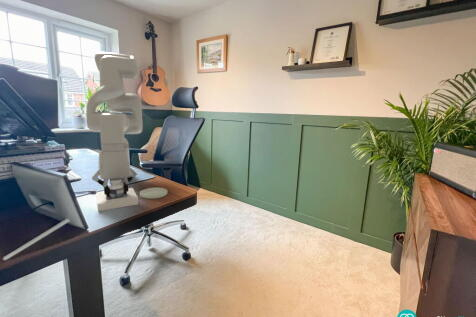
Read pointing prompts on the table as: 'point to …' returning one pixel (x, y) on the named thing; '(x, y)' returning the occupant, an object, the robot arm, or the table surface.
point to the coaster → (153, 193)
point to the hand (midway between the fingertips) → (116, 194)
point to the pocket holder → (116, 200)
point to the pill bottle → (116, 189)
